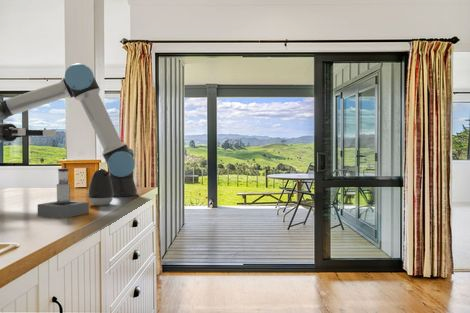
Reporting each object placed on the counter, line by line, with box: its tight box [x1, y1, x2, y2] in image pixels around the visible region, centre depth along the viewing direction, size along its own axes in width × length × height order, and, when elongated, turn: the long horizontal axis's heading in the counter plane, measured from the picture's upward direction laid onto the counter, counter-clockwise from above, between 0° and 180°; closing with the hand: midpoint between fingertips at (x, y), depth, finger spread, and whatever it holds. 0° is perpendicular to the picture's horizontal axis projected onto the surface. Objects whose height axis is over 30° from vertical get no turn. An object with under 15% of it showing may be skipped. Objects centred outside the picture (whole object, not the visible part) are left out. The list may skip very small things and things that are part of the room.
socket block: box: [37, 199, 90, 219], centre depth 136 cm, size 12×12×4 cm
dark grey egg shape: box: [87, 168, 114, 207], centre depth 157 cm, size 10×10×15 cm
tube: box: [56, 167, 71, 205], centre depth 136 cm, size 4×4×17 cm
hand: (40, 132), depth 147 cm, fingers open, 13 cm apart
